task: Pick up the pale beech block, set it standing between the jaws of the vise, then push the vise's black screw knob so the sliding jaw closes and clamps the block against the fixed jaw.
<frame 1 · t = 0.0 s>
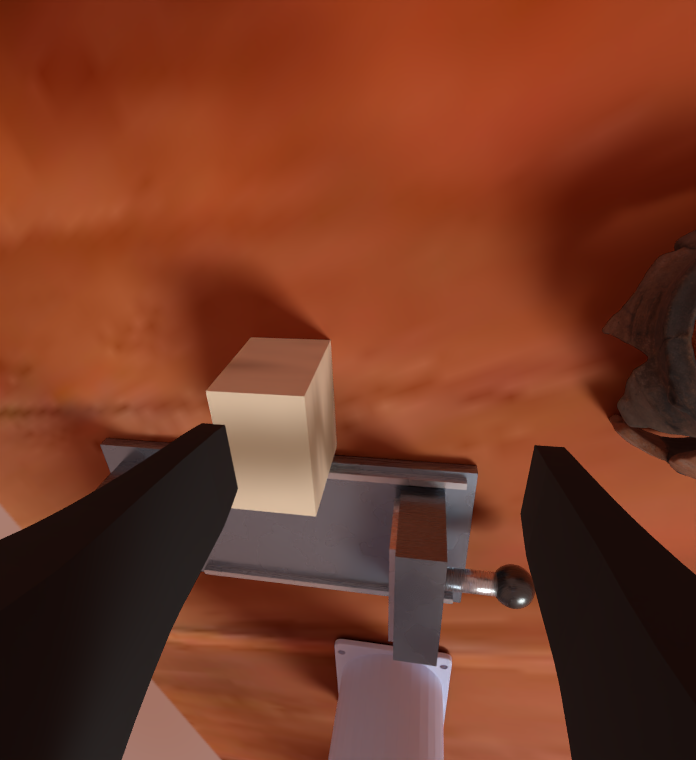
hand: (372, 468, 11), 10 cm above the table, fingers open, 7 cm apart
block: (296, 393, 22), on the table
vise: (292, 518, 27), on the table
jaw: (461, 580, 23), point 3 cm above the table, slide at 0.0 cm
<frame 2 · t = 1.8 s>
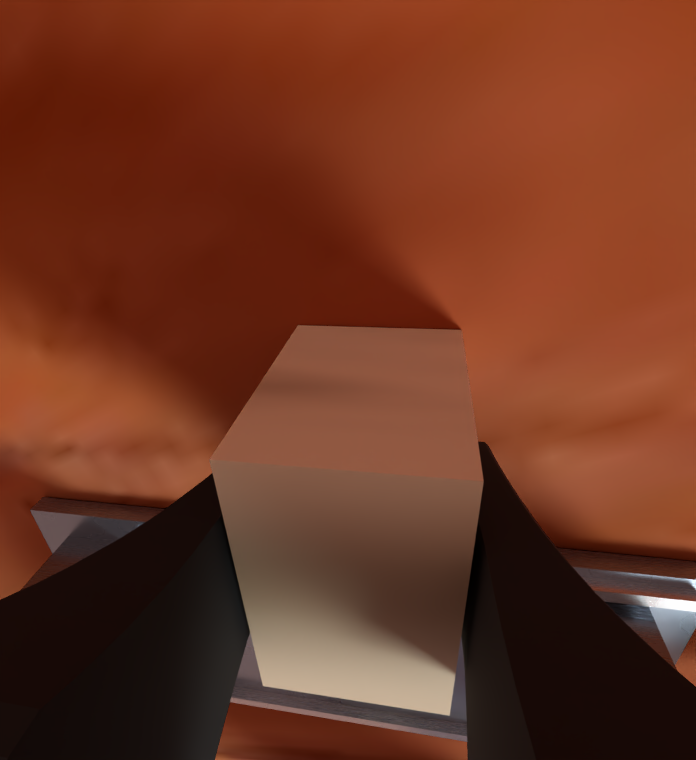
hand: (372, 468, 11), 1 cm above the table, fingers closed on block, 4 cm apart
block: (378, 433, 12), on the table, touching gripper
vise: (351, 626, 16), on the table
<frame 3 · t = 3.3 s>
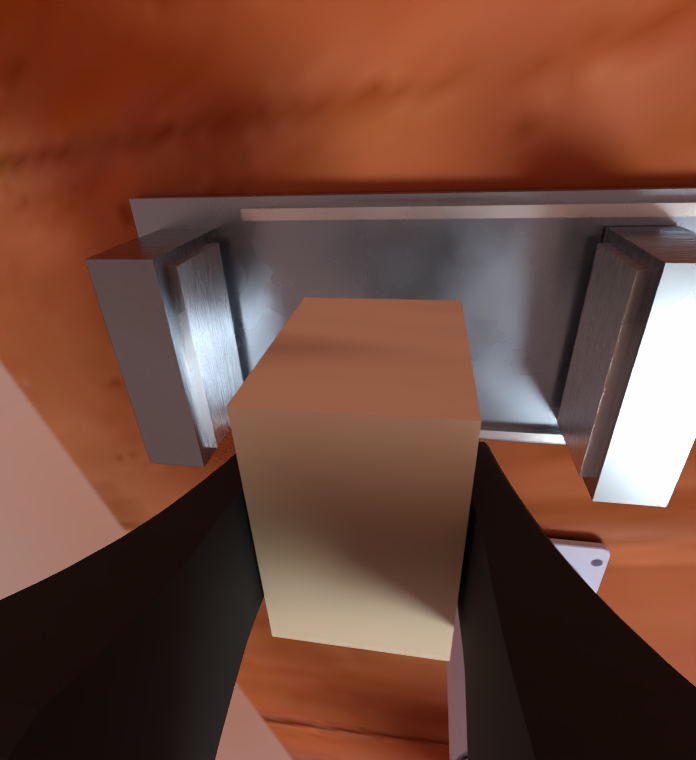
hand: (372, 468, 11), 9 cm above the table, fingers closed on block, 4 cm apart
block: (381, 403, 12), point 7 cm above the table, touching gripper
vise: (408, 324, 18), on the table
when the fingers open (3 cm above the table, at t = 4.7 s): block stays where it is, resting on vise.
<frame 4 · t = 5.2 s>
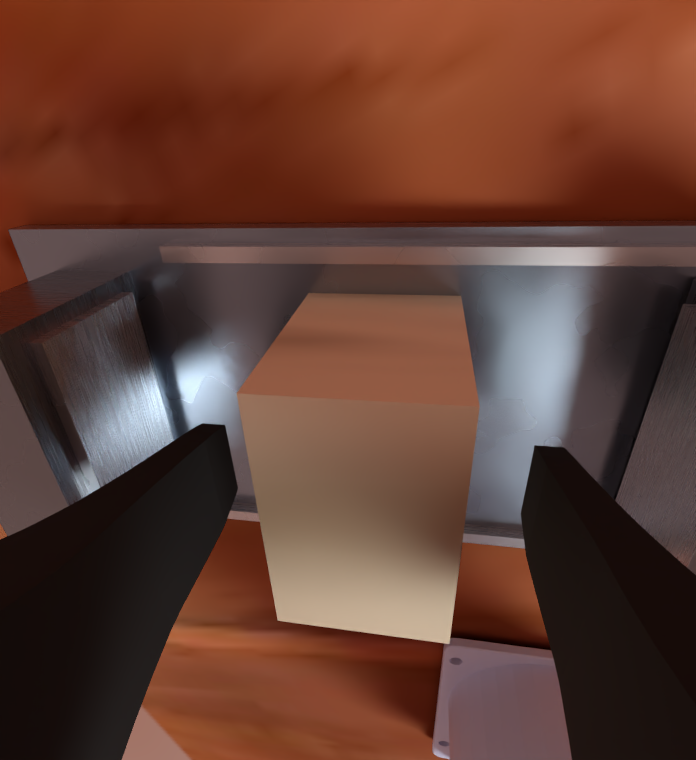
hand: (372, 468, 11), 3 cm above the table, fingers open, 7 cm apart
block: (382, 396, 13), point 1 cm above the table, touching vise
vise: (401, 398, 13), on the table
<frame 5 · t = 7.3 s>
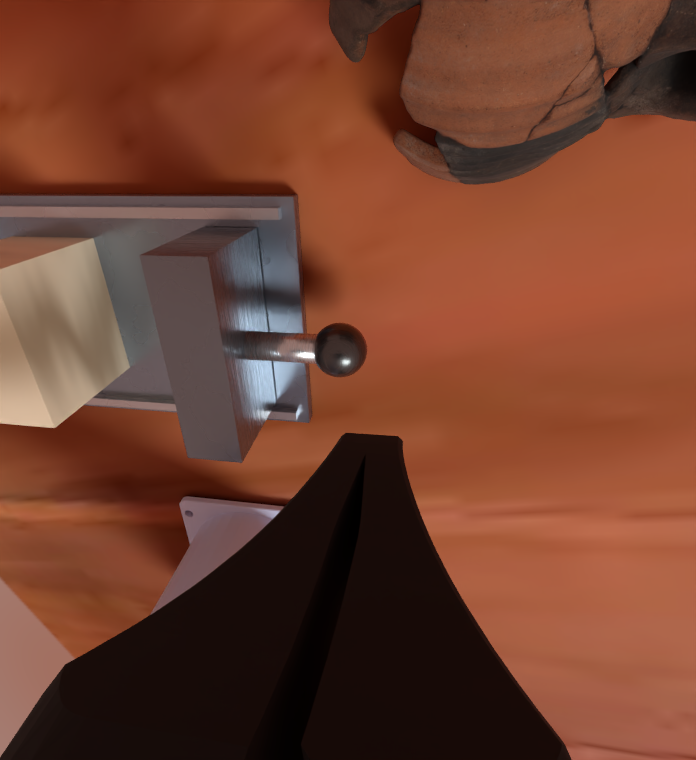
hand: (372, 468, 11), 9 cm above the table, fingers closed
pottery mug: (525, 14, 14), on the table
block: (74, 305, 20), point 1 cm above the table, touching vise
vise: (95, 309, 21), on the table
jaw: (274, 346, 17), point 3 cm above the table, slide at 0.0 cm
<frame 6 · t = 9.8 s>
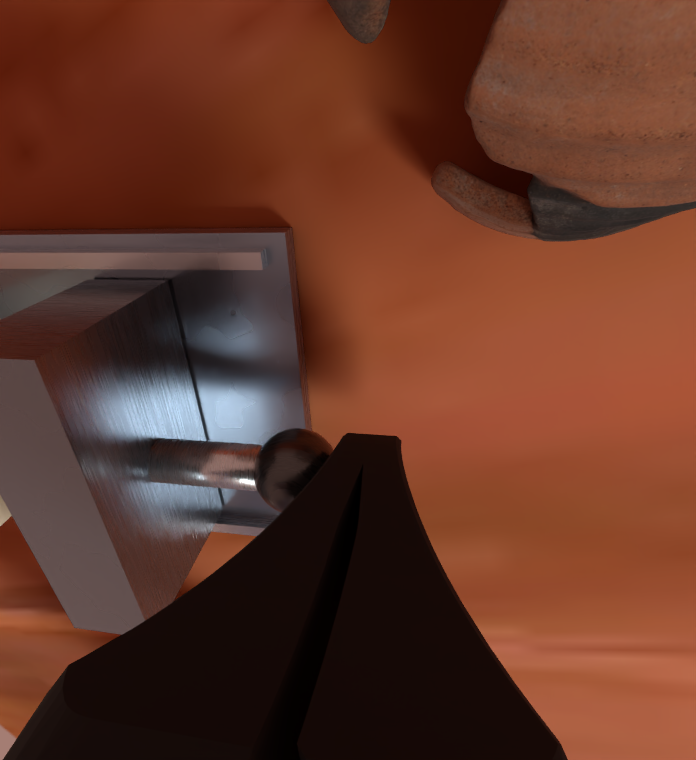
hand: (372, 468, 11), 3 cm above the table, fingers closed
vise: (12, 388, 15), on the table
jaw: (197, 462, 11), point 3 cm above the table, slide at 1.6 cm, touching gripper
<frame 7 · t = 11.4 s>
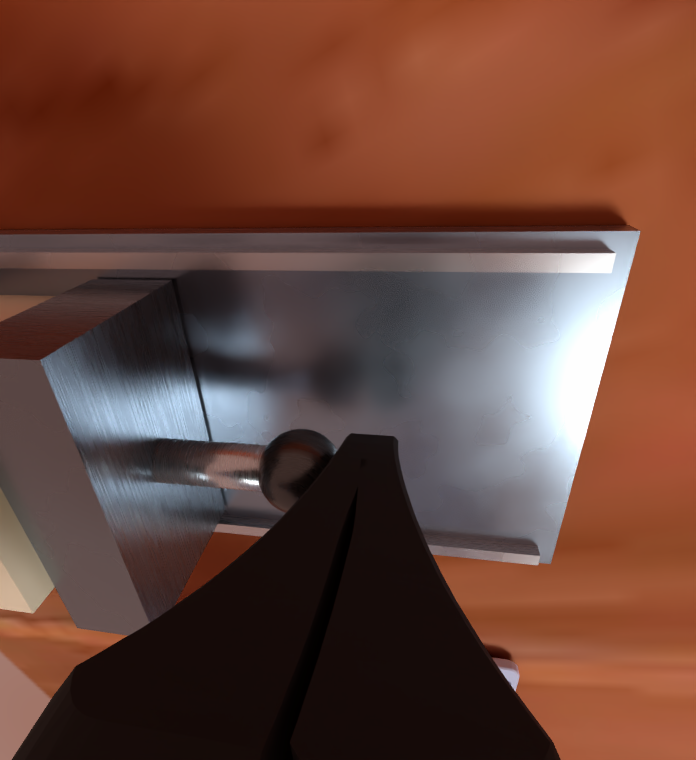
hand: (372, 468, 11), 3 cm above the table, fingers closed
block: (65, 390, 14), point 1 cm above the table, touching jaw, vise
vise: (226, 399, 14), on the table
jaw: (201, 463, 11), point 3 cm above the table, slide at 8.9 cm, touching block, gripper
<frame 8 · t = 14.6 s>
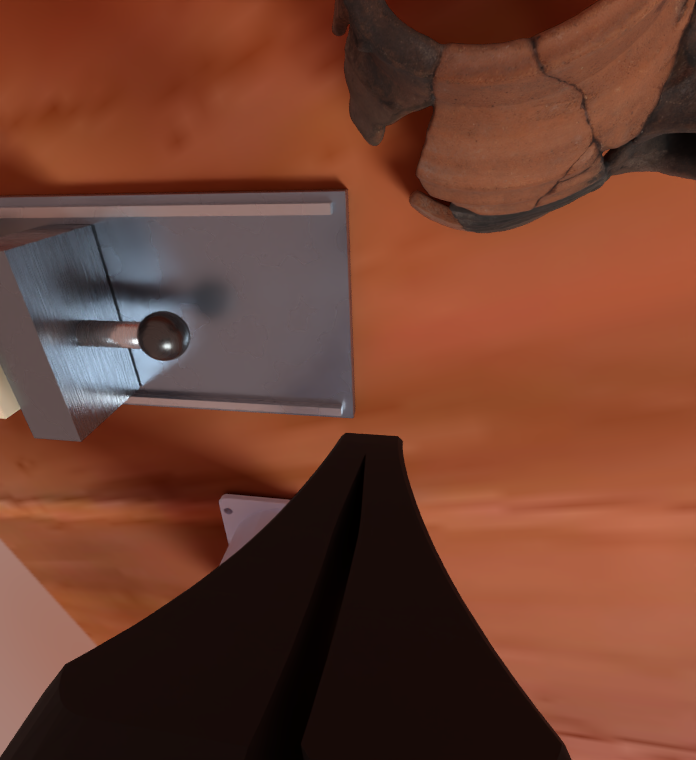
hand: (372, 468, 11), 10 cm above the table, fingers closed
pottery mug: (527, 79, 15), on the table
block: (31, 303, 21), point 1 cm above the table, touching jaw, vise
vise: (139, 308, 21), on the table
jaw: (107, 334, 19), point 3 cm above the table, slide at 9.2 cm, touching block
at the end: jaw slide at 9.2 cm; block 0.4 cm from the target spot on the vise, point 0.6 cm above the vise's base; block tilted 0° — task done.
